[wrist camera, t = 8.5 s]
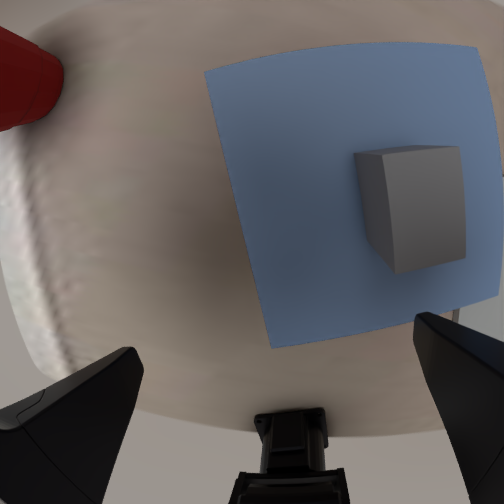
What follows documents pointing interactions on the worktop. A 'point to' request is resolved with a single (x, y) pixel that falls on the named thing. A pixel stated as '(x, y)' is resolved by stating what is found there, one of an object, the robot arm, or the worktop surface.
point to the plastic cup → (26, 81)
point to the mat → (485, 311)
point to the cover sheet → (320, 185)
